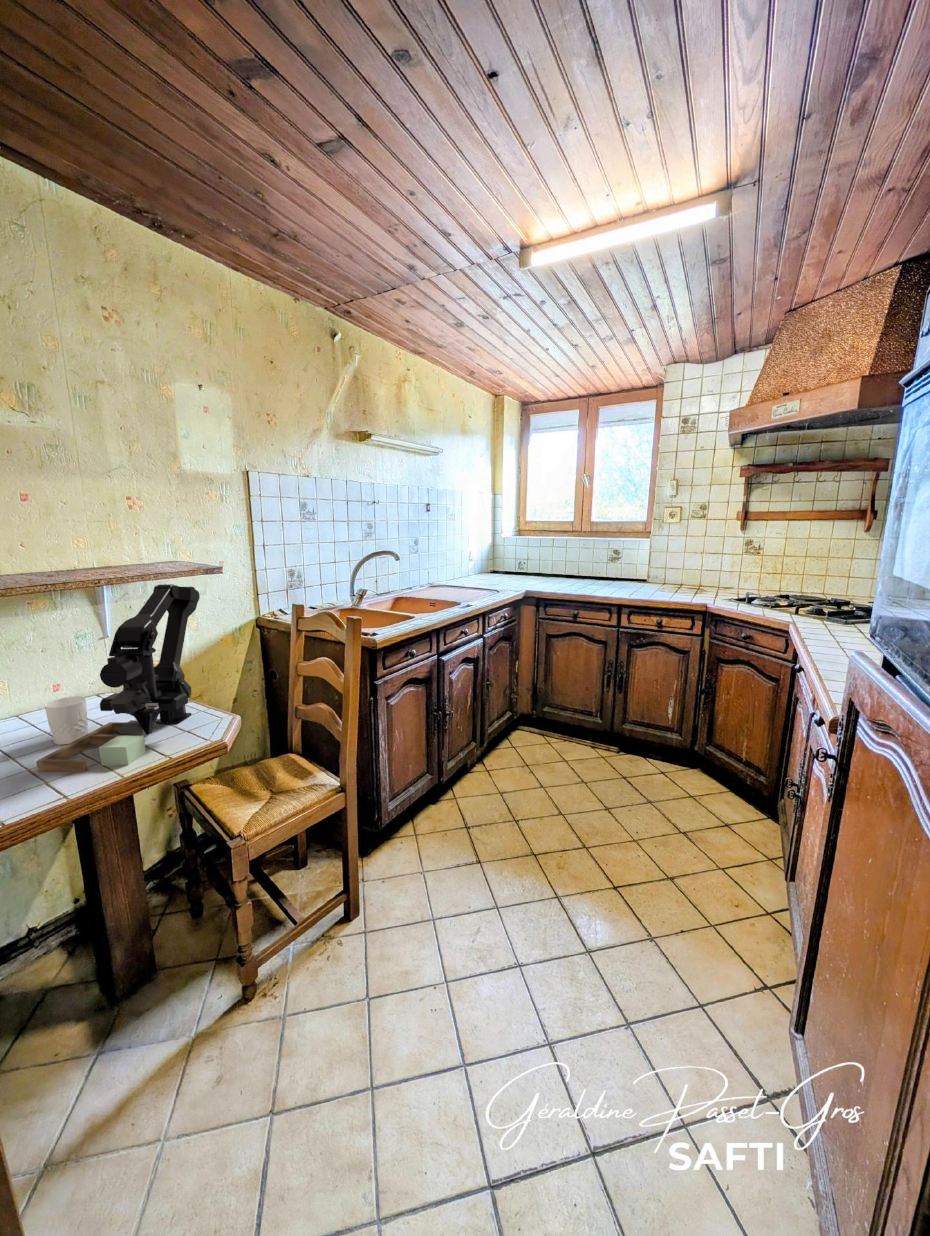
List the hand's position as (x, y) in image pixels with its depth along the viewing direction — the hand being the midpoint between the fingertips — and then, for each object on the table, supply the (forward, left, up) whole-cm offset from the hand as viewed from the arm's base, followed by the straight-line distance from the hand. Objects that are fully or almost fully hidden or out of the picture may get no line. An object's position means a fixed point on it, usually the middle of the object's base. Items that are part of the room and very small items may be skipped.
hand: (149, 733), depth 120 cm
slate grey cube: (0, -4, -1) cm, 4 cm away
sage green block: (+11, +1, -2) cm, 11 cm away
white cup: (+1, -20, -2) cm, 20 cm away
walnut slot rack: (+6, -8, -1) cm, 10 cm away
